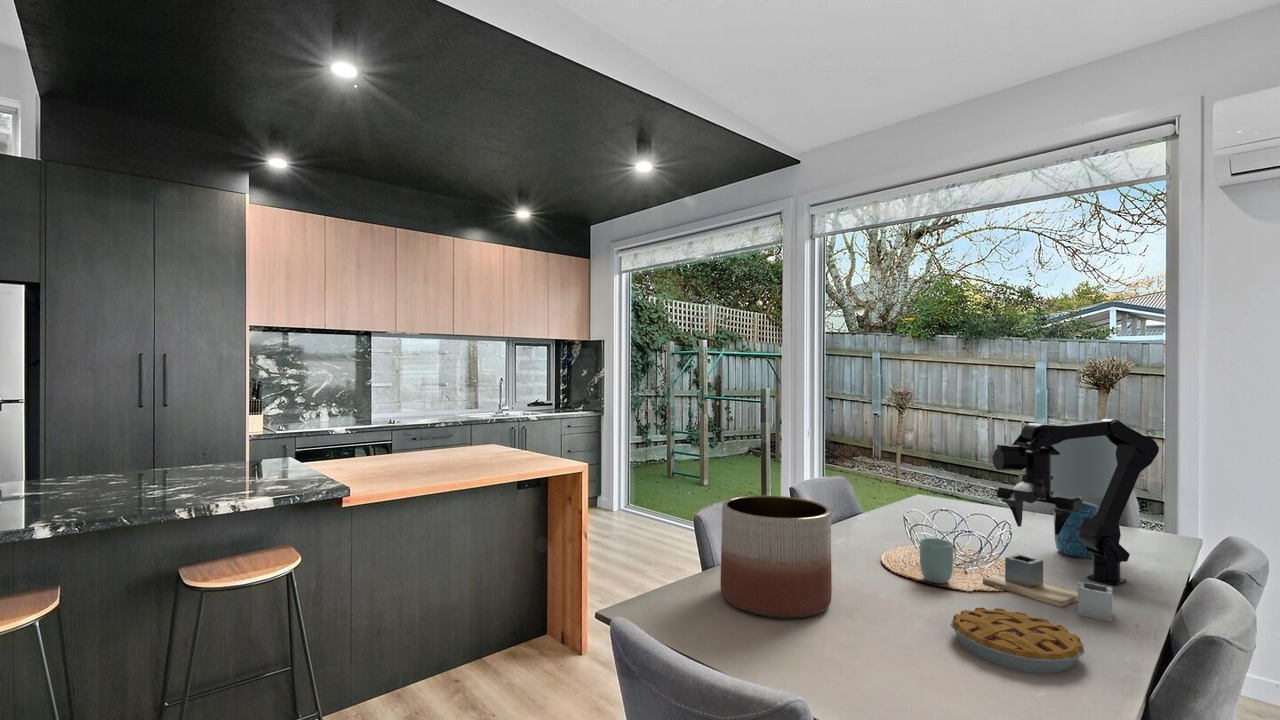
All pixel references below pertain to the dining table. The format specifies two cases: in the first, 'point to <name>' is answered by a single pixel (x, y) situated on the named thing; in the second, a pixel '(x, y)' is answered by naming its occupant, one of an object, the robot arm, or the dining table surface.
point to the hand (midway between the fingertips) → (1037, 530)
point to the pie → (1017, 640)
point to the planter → (776, 555)
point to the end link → (1024, 571)
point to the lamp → (1081, 484)
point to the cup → (936, 559)
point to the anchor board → (1037, 590)
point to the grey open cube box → (1095, 601)
